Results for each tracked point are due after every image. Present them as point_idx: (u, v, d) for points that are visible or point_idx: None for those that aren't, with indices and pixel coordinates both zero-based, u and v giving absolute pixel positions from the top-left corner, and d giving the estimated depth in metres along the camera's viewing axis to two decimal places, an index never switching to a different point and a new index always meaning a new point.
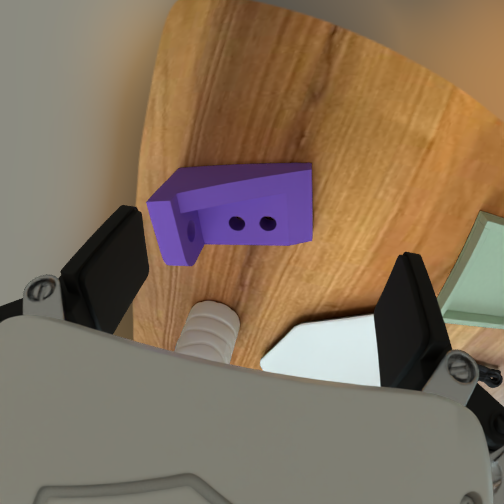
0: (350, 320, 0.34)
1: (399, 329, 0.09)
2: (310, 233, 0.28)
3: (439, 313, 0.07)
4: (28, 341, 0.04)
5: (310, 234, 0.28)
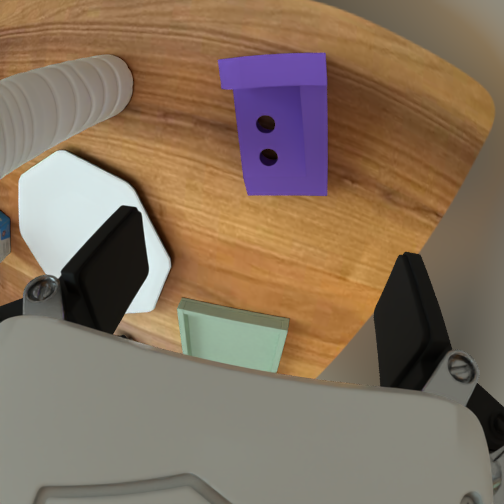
0: (154, 237, 0.33)
1: (399, 329, 0.09)
2: (256, 194, 0.28)
3: (439, 313, 0.07)
4: (28, 341, 0.04)
5: (255, 194, 0.28)
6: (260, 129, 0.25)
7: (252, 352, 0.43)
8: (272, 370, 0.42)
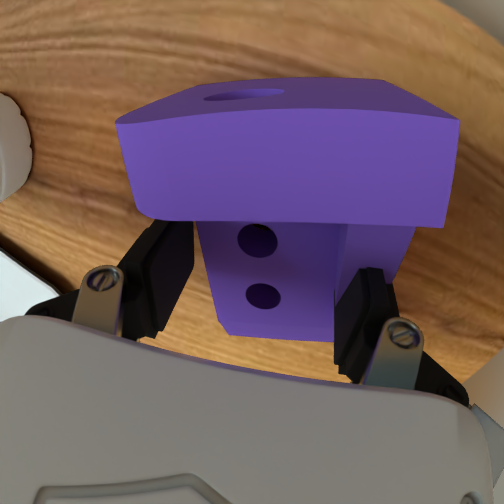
0: None
1: (348, 300, 0.10)
2: (243, 335, 0.16)
3: (383, 282, 0.08)
4: (28, 341, 0.04)
5: (241, 335, 0.16)
6: (248, 236, 0.13)
7: None
8: None
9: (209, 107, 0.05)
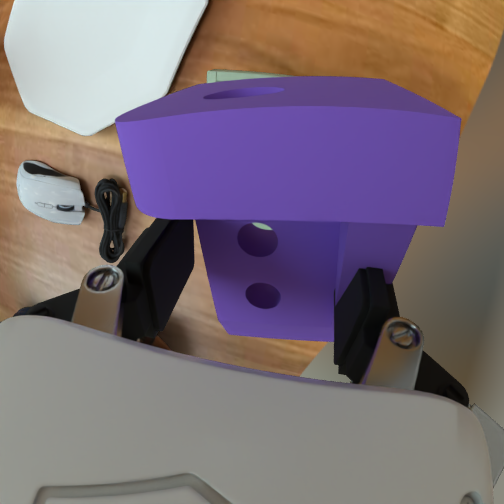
0: None
1: (348, 300, 0.10)
2: (243, 334, 0.16)
3: (383, 282, 0.08)
4: (28, 341, 0.04)
5: (241, 334, 0.16)
6: (248, 235, 0.13)
7: None
8: None
9: (209, 105, 0.05)
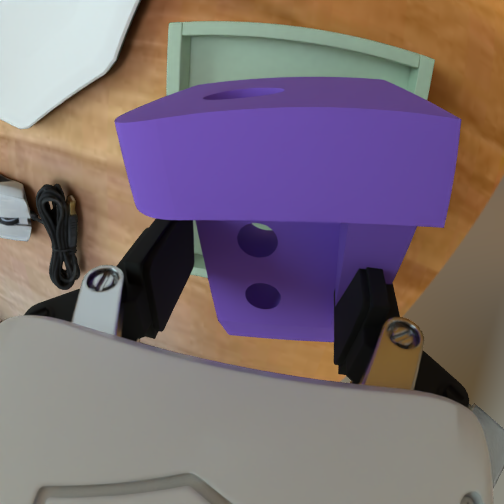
0: None
1: (348, 300, 0.10)
2: (243, 335, 0.16)
3: (383, 282, 0.08)
4: (28, 341, 0.04)
5: (241, 335, 0.16)
6: (248, 236, 0.13)
7: None
8: None
9: (209, 106, 0.05)
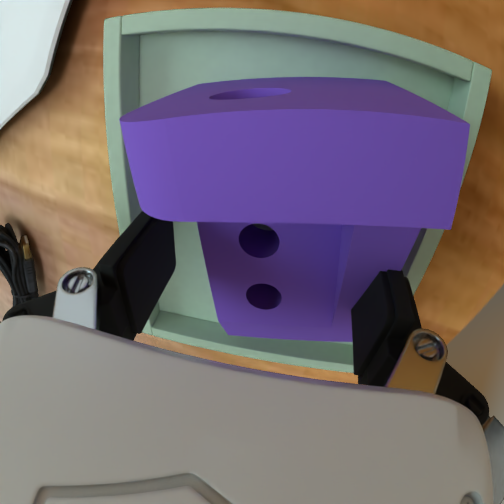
0: None
1: (369, 310, 0.09)
2: (242, 335, 0.16)
3: (406, 293, 0.08)
4: (28, 341, 0.04)
5: (240, 335, 0.16)
6: (248, 236, 0.13)
7: None
8: (409, 277, 0.12)
9: (218, 106, 0.05)
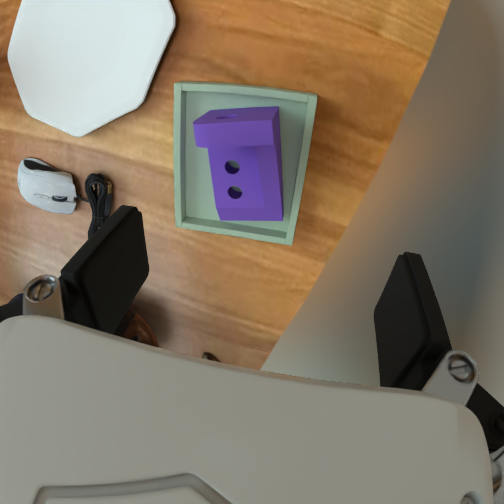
0: None
1: (399, 329, 0.09)
2: (227, 219, 0.35)
3: (439, 313, 0.07)
4: (28, 341, 0.04)
5: (226, 219, 0.35)
6: (229, 169, 0.32)
7: None
8: (297, 184, 0.31)
9: (218, 121, 0.24)
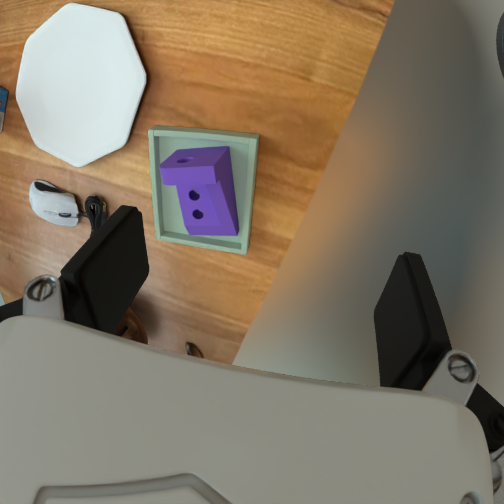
0: (134, 54, 0.31)
1: (399, 329, 0.09)
2: (194, 234, 0.44)
3: (439, 313, 0.07)
4: (28, 341, 0.04)
5: (193, 234, 0.44)
6: (193, 195, 0.41)
7: None
8: (245, 207, 0.40)
9: (177, 165, 0.33)
